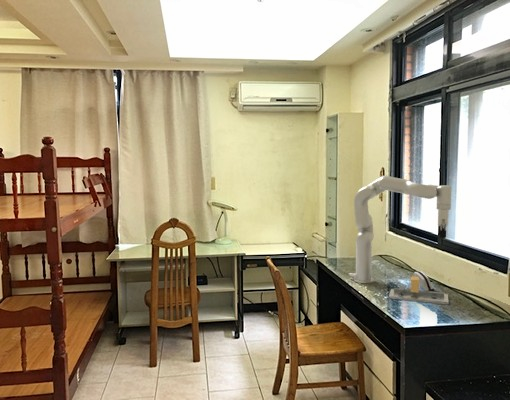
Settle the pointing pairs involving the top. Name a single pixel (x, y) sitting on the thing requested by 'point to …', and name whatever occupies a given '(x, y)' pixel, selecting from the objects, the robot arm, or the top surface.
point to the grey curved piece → (423, 280)
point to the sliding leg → (414, 284)
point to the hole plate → (419, 298)
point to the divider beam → (408, 291)
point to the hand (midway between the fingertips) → (442, 235)
